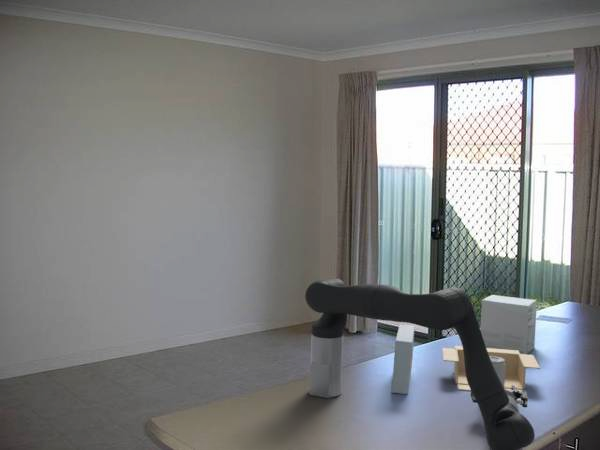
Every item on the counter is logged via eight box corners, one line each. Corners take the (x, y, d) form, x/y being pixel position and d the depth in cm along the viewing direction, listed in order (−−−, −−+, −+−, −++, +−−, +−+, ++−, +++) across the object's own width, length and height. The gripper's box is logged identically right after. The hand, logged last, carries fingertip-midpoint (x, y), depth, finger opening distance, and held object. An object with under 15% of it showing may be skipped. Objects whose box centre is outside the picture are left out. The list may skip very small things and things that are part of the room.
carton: (540, 397, 198) (542, 372, 197) (442, 388, 203) (443, 364, 203) (529, 373, 220) (531, 351, 219) (441, 366, 225) (442, 344, 224)
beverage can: (503, 396, 198) (506, 356, 196) (502, 404, 192) (505, 363, 190) (481, 393, 200) (483, 354, 198) (479, 401, 194) (482, 360, 192)
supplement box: (535, 347, 251) (538, 299, 249) (526, 356, 240) (529, 306, 238) (489, 339, 260) (491, 293, 259) (478, 347, 249) (480, 299, 247)
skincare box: (409, 395, 197) (412, 341, 195) (391, 393, 198) (393, 340, 196) (412, 373, 217) (414, 324, 216) (395, 371, 219) (397, 323, 217)
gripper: (533, 396, 168) (524, 376, 184) (474, 391, 171) (470, 371, 186) (531, 426, 169) (522, 403, 184) (472, 420, 171) (469, 398, 187)
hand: (496, 387), depth 185 cm, fingers open, 8 cm apart
